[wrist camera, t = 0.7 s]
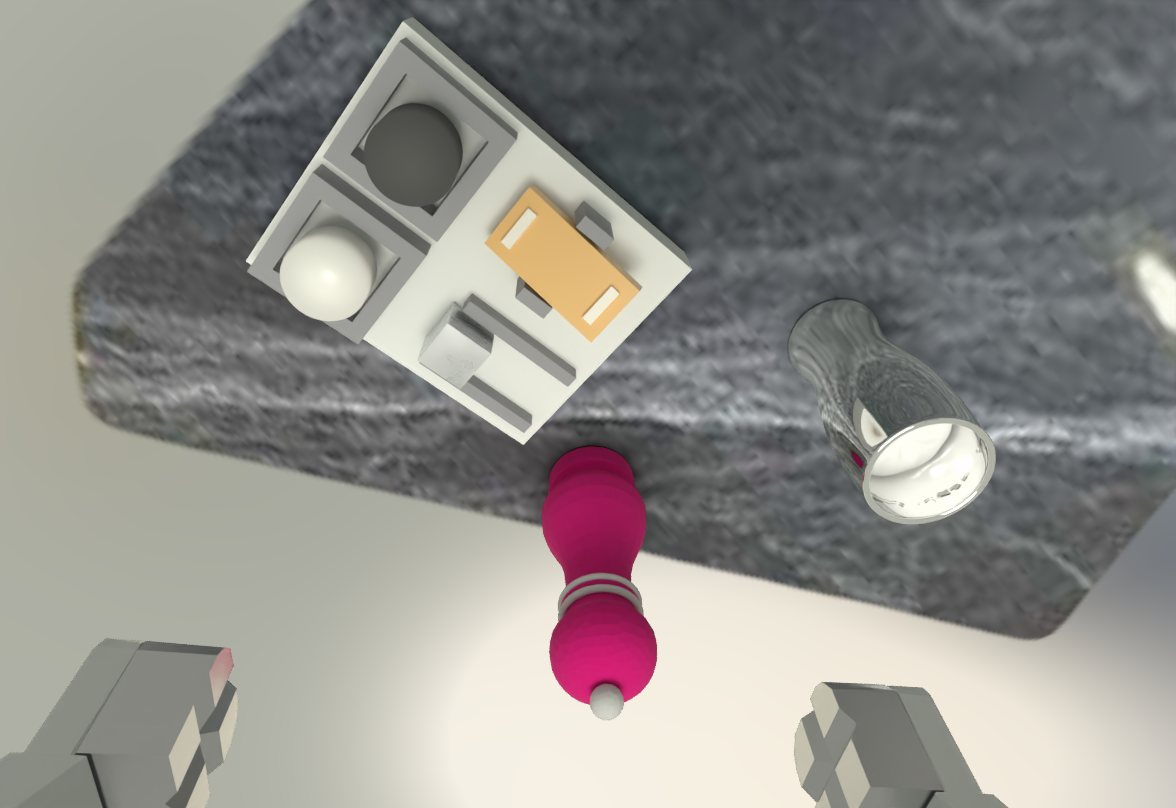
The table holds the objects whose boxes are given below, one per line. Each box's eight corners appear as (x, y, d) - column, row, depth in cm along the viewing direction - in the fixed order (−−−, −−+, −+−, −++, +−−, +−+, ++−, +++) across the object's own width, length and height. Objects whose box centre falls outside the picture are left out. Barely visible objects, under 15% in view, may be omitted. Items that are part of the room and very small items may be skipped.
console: (412, 16, 39) (392, 25, 34) (684, 252, 46) (700, 287, 41) (263, 243, 45) (227, 279, 40) (524, 420, 52) (521, 469, 47)
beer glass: (784, 394, 52) (860, 538, 39) (777, 304, 48) (857, 430, 35) (885, 374, 51) (995, 514, 39) (885, 281, 48) (1006, 402, 35)
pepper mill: (522, 469, 54) (508, 706, 37) (606, 422, 53) (632, 648, 35) (577, 532, 58) (586, 776, 41) (657, 489, 56) (703, 726, 39)
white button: (320, 208, 39) (307, 223, 37) (392, 260, 41) (383, 277, 38) (279, 270, 41) (263, 287, 38) (349, 317, 42) (338, 336, 40)
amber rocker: (535, 185, 40) (528, 187, 39) (642, 287, 41) (639, 292, 40) (490, 240, 42) (482, 243, 40) (595, 337, 43) (590, 344, 41)
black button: (406, 83, 36) (397, 91, 34) (480, 143, 38) (475, 155, 35) (357, 154, 38) (345, 166, 36) (430, 210, 39) (423, 224, 37)
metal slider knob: (454, 302, 44) (447, 323, 41) (494, 331, 45) (491, 354, 43) (425, 337, 45) (417, 360, 43) (465, 365, 46) (460, 389, 44)
